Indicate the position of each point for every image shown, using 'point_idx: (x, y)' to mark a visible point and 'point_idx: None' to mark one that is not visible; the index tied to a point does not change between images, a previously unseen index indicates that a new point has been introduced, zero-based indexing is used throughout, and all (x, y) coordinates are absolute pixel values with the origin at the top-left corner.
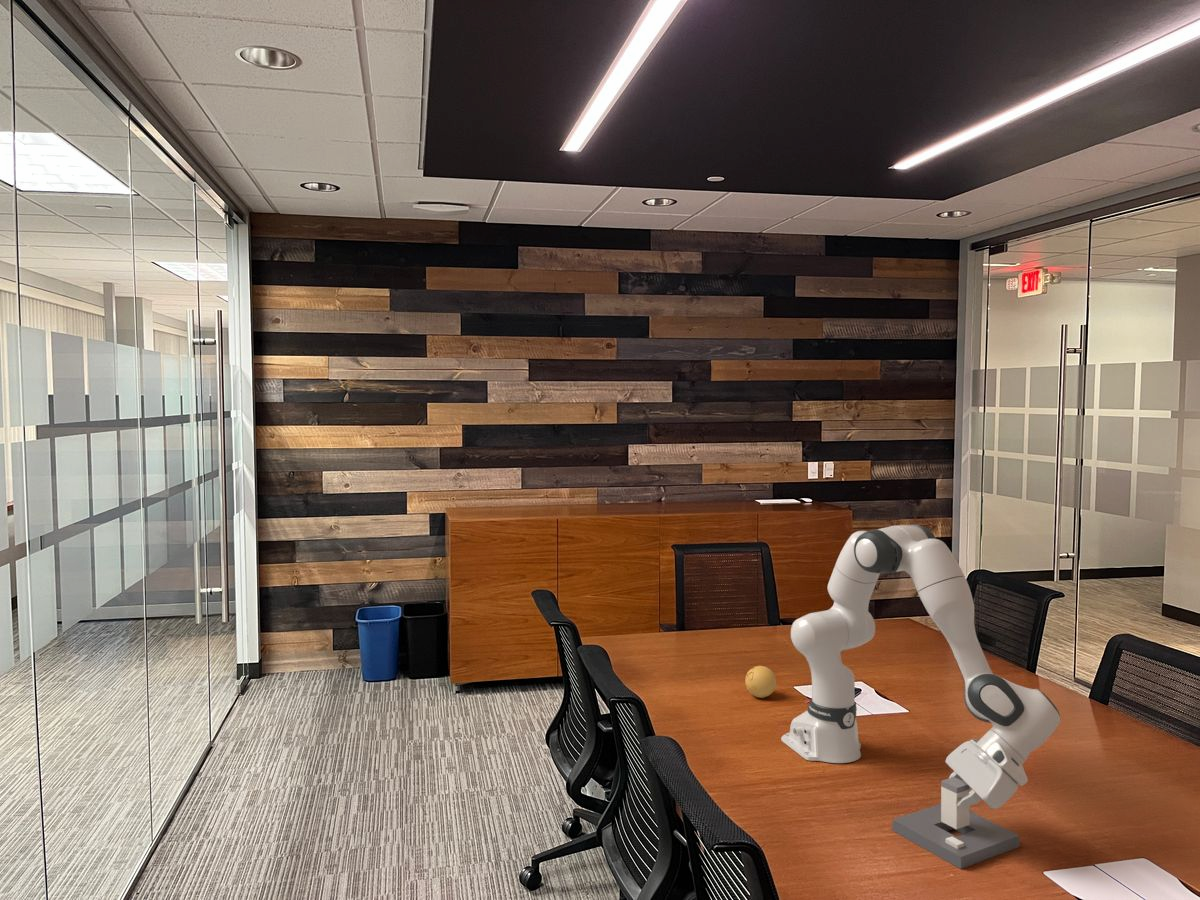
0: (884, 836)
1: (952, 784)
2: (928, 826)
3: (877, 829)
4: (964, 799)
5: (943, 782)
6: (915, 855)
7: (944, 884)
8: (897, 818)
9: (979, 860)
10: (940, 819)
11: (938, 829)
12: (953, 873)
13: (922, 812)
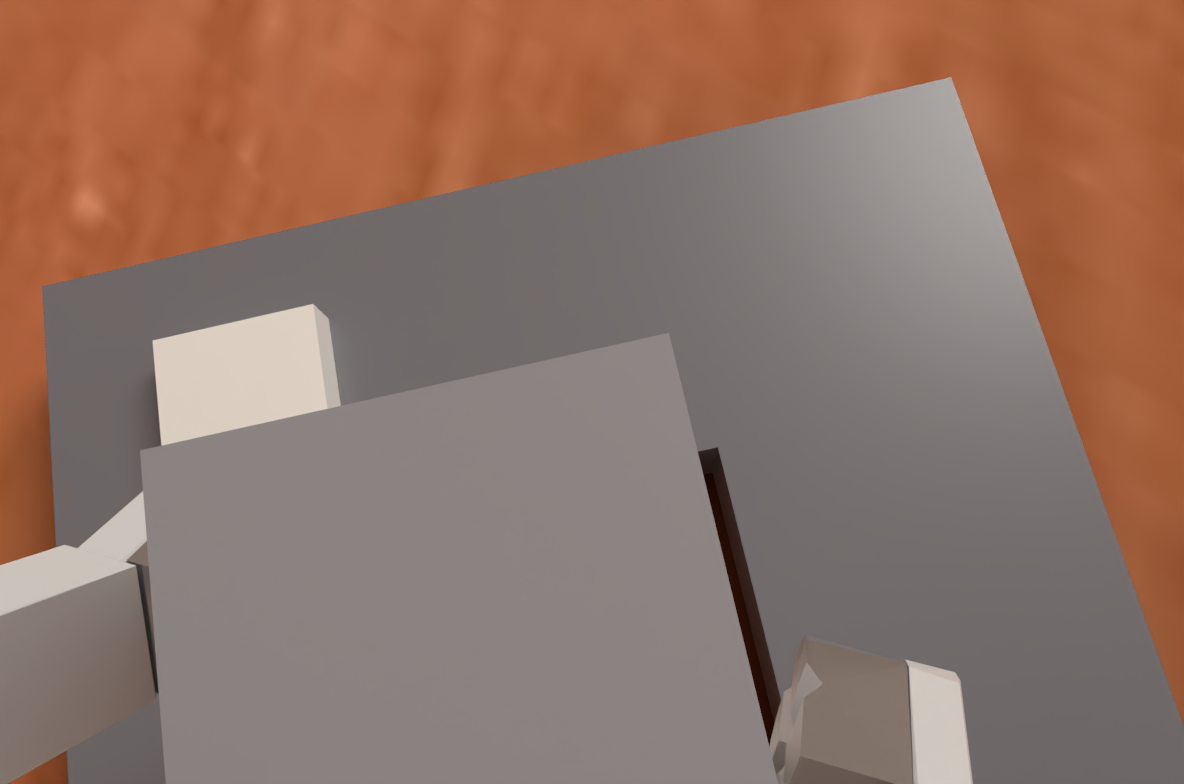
0: (829, 21)
1: (363, 488)
2: (693, 359)
3: (972, 27)
4: (48, 551)
5: (590, 354)
6: (447, 98)
7: (7, 71)
8: (958, 136)
9: None
10: (813, 614)
11: None
12: (93, 230)
13: (1045, 508)
